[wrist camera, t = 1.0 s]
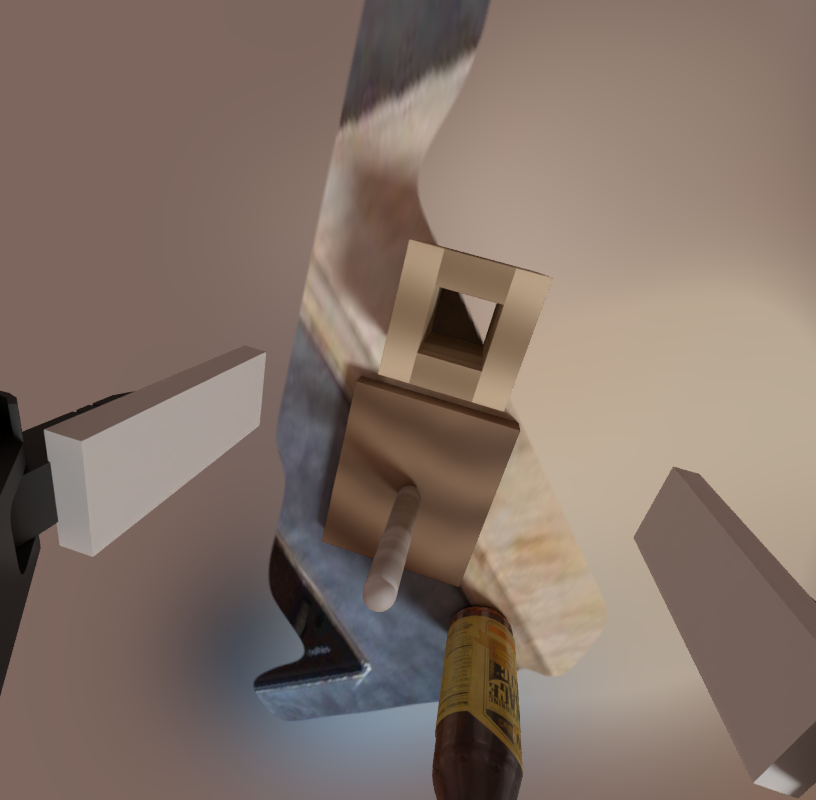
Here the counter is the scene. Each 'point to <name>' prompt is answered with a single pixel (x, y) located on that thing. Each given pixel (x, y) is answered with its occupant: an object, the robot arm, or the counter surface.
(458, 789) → the sauce bottle
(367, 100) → the counter surface
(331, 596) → the counter surface
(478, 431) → the rod stand
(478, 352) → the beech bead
